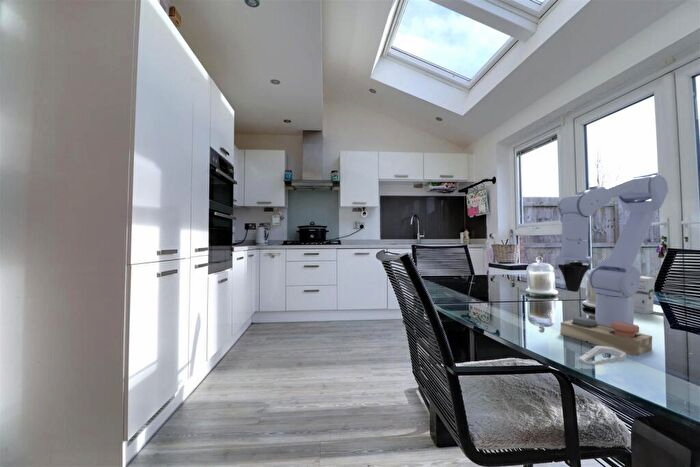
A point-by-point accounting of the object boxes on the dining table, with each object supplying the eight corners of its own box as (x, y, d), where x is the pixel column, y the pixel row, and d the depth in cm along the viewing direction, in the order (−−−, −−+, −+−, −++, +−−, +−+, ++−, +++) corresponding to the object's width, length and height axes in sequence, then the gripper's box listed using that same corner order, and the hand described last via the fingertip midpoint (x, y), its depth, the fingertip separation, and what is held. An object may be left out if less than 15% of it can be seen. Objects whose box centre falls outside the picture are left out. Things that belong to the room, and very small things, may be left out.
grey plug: (578, 330, 81) (578, 316, 81) (600, 335, 77) (600, 320, 76) (568, 332, 78) (568, 318, 78) (590, 338, 74) (590, 323, 74)
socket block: (576, 329, 82) (577, 318, 82) (651, 349, 69) (652, 336, 69) (560, 334, 79) (560, 322, 79) (636, 355, 65) (636, 341, 65)
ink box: (614, 308, 107) (615, 274, 107) (622, 306, 110) (622, 273, 109) (647, 314, 100) (648, 278, 99) (654, 312, 102) (655, 277, 102)
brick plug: (616, 336, 74) (616, 320, 74) (642, 342, 69) (643, 326, 69) (606, 339, 71) (606, 323, 71) (633, 346, 67) (633, 329, 67)
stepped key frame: (608, 376, 58) (608, 367, 58) (577, 366, 62) (577, 357, 62) (629, 357, 66) (629, 349, 66) (600, 349, 70) (601, 341, 70)
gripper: (577, 240, 75) (574, 295, 75) (605, 241, 82) (603, 292, 82) (547, 239, 81) (545, 290, 81) (576, 240, 88) (574, 287, 88)
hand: (572, 291), depth 82 cm, fingers closed
